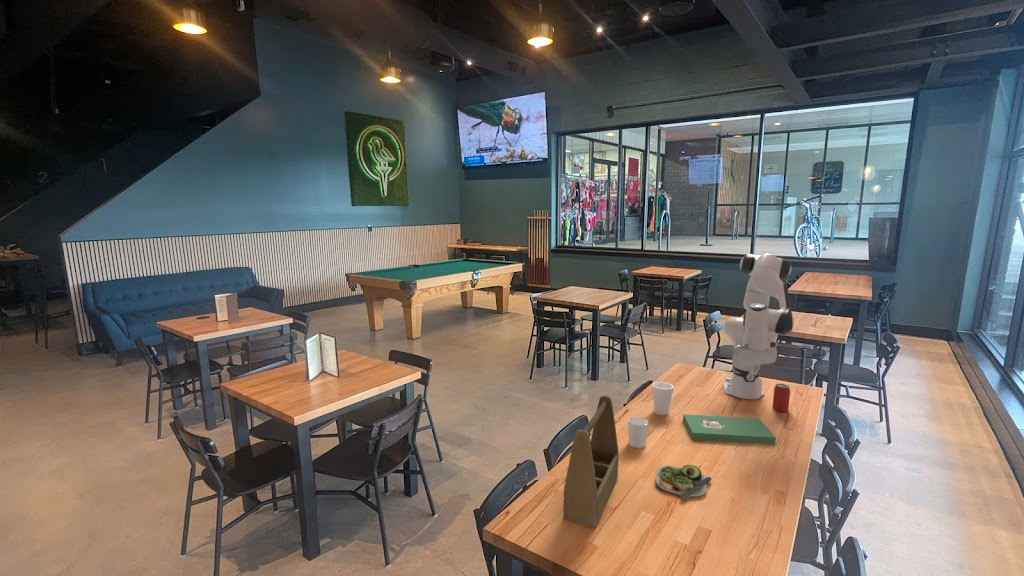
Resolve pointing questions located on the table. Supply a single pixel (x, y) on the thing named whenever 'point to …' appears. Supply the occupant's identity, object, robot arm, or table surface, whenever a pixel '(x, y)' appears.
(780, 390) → the beer can
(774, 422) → the table surface
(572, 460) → the caddy
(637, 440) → the white cup
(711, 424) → the ball
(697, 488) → the avocado toast plate
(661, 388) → the foam cup
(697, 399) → the table surface
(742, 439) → the green rectangular slab
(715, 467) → the table surface
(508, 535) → the table surface
